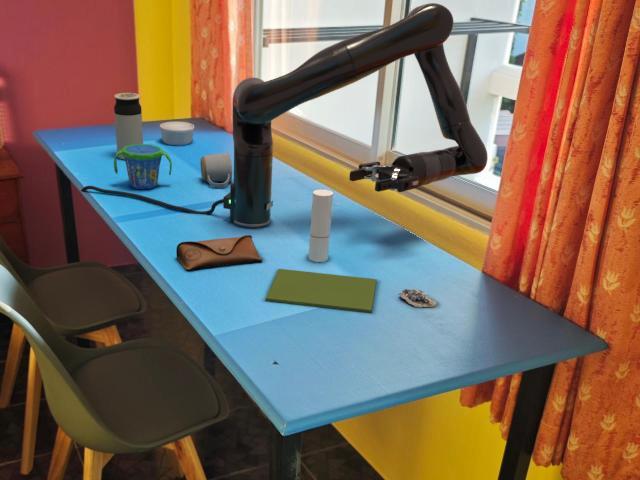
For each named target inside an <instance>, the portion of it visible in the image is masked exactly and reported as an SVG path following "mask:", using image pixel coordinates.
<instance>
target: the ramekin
mask: <svg viewBox="0 0 640 480" xmlns="http://www.w3.org/2000/svg"><path fill="white" fill-rule="evenodd" d="M159 130H160V135H161V140H162V142H163V143H164V144H166V145H170V146H186V145H190V144H191V143H192V142H193V137H194V130H195V125H194V124H193V123H190V122H187V121H176V120H175V121H166V122H162V123H160V124H159Z"/></svg>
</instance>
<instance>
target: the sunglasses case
mask: <svg viewBox="0 0 640 480" xmlns="http://www.w3.org/2000/svg"><path fill="white" fill-rule="evenodd" d="M175 252H176V259H177V261H178V262H179V264H180V265H181V266H182V267H183V268H184V269H185V270H187V271H193V270H197V269H203V268H213V267H222V266H234V265H243V264H250V263H254V262H260V261H263V258H262V257H261V256H260V254H259V252H258V249H257V248H256V245H255V243H254V241H253V236H252V235H251V234H246V235H241V236H236V237H224V238H214V239H205V240H198V241H190V240H189V241H181V242H179V243H178V244H177V246H176V251H175Z"/></svg>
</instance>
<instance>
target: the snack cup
mask: <svg viewBox="0 0 640 480" xmlns="http://www.w3.org/2000/svg"><path fill="white" fill-rule="evenodd" d="M119 154H123V155H124V157H125V160H124V161H125V166H126V171H127V177H128V182H129V185H130V186H131V187H132V188H134V189H137V190H146V189H148V190H151V189H154V188H155V187H157V186H158V183H159V175H160V166H161V161H162V158H163V156H164V157H166V159H167V161H168V162H169V171H168V172H169V173H168V175H169V176H171V173H172V171H173V170H172V169H173V163H172V159H171V157H170V154H169V153H168V152H166V151H165V150H163V148H161V147H160V146H159V145H155V144H150V143H149V144H148V143H143V144H134V145H129V146H126V147H124V148H123V149H122V150H120V151H119V152H118V153H117V152H116V154H115V156H114V159H113V168H114V172H115V174H118V172H119V171H118V170H119V169H118V162H117V159H118V155H119Z"/></svg>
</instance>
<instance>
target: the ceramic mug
mask: <svg viewBox="0 0 640 480" xmlns="http://www.w3.org/2000/svg"><path fill="white" fill-rule="evenodd" d="M200 173H201V178H202V180H203V181H204V182H207V183H208V184H209V185H210V186H211V187H212V188H214V189H215V188H216V189H223V188H225V187H227V186H228V185H229V183H230V182H232V180H233V163H232V157H231V154H230V153H229V152H223V153H221V152H220V153H214V154H206V155H203V156H201V157H200ZM219 182H221V183H219Z"/></svg>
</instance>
